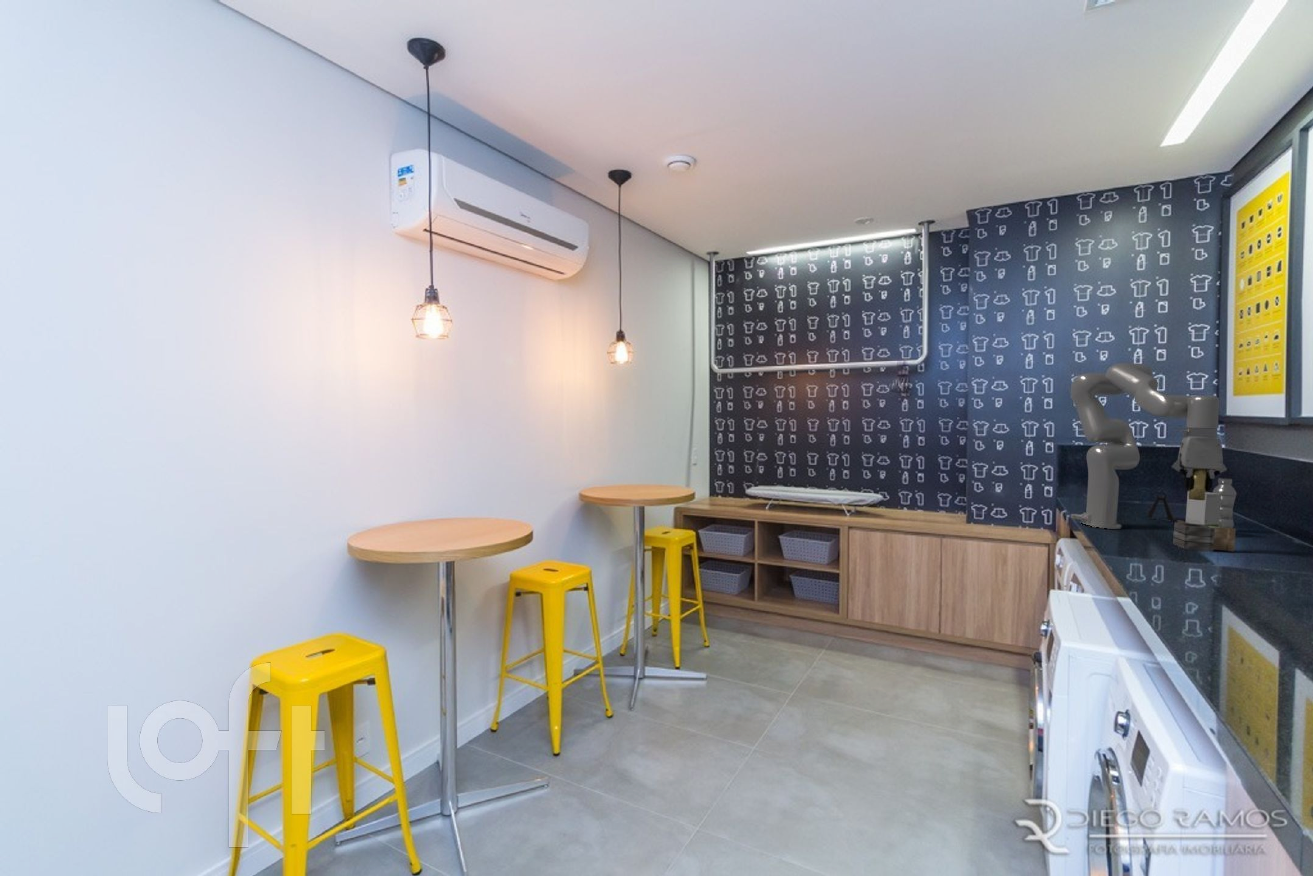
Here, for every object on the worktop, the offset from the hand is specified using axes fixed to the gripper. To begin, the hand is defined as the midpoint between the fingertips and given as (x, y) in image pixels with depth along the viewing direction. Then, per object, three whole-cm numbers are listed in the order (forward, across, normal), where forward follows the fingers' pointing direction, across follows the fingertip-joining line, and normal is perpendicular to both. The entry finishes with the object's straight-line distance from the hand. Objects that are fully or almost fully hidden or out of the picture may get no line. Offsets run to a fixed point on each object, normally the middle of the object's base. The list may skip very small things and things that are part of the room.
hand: (1197, 489), depth 193 cm
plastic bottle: (+19, +26, +43) cm, 54 cm away
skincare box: (+19, +15, +31) cm, 40 cm away
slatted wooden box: (+19, 0, +3) cm, 20 cm away
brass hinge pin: (+3, 0, 0) cm, 3 cm away
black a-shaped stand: (+19, +14, +62) cm, 67 cm away
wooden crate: (+19, +3, 0) cm, 19 cm away
